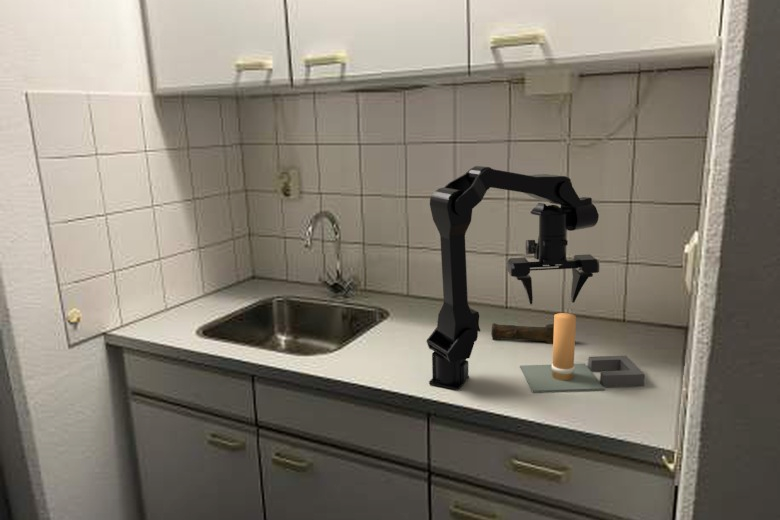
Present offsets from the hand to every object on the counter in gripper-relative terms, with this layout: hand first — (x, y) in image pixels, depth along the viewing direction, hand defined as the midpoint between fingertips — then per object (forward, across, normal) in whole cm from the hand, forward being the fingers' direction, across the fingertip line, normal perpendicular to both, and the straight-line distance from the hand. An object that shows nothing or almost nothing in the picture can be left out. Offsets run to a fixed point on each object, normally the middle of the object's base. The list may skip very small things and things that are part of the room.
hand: (551, 303), depth 131 cm
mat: (+12, +1, +12) cm, 17 cm away
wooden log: (+13, +2, -10) cm, 16 cm away
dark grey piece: (+12, -9, +12) cm, 19 cm away
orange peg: (+12, +1, +12) cm, 17 cm away
